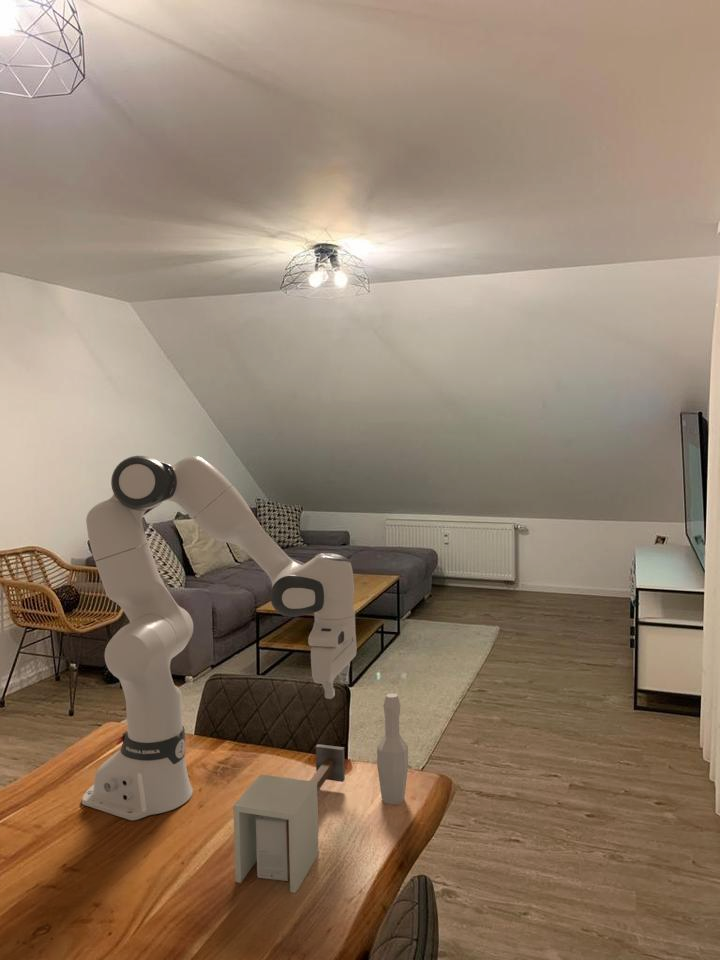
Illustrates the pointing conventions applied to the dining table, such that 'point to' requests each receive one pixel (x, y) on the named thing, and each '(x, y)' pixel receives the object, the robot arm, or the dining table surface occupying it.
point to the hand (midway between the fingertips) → (337, 689)
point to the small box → (272, 848)
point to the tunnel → (279, 802)
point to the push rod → (329, 764)
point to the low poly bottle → (392, 755)
